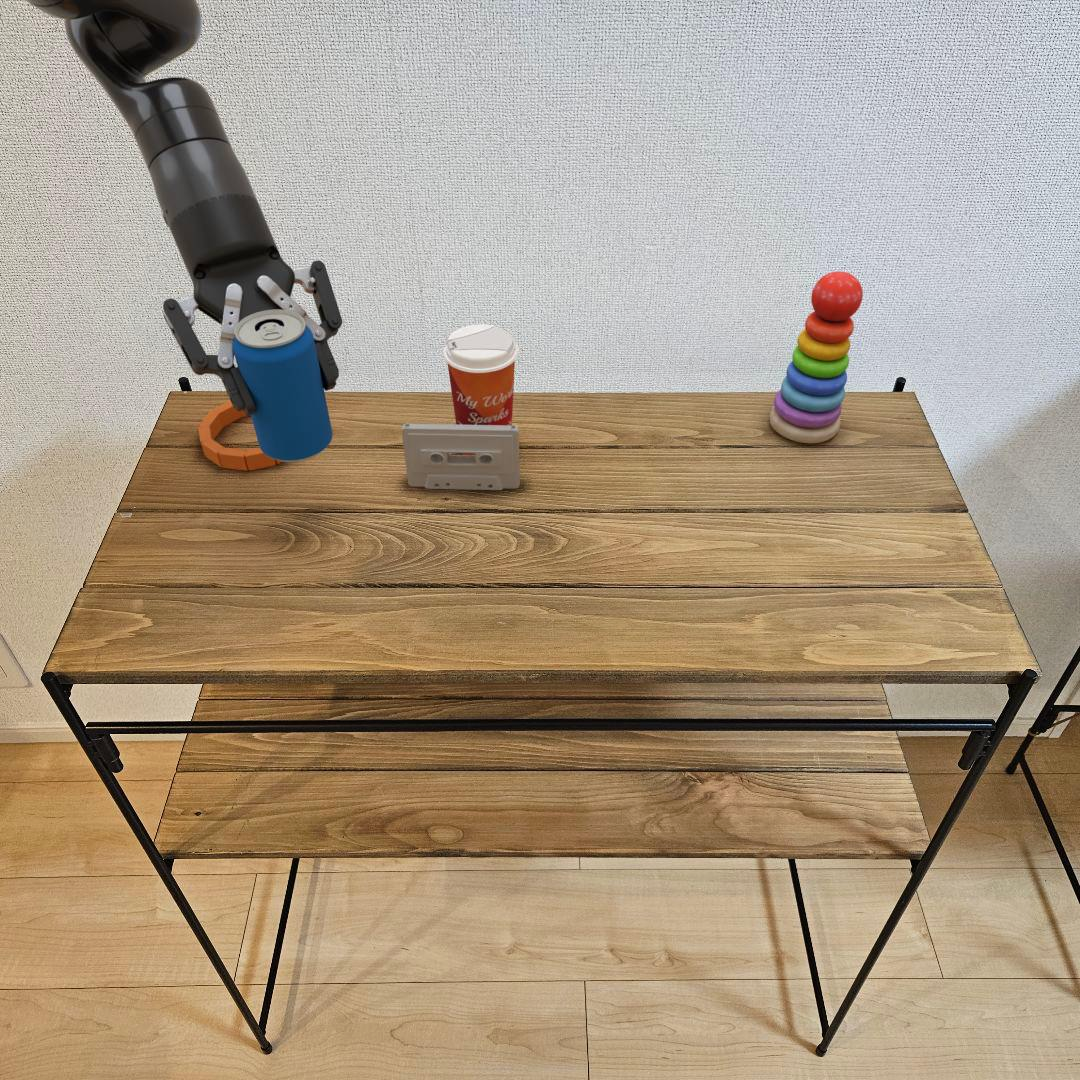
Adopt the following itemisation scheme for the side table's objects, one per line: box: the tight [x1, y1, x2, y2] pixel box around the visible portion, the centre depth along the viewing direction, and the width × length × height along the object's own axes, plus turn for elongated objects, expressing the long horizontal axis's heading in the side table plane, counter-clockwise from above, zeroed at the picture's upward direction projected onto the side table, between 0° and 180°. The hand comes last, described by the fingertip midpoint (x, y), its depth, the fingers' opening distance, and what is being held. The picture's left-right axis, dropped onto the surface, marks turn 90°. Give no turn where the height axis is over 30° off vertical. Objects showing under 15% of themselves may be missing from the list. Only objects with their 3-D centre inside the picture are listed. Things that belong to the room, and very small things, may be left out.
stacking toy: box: [769, 270, 864, 444], centre depth 97 cm, size 8×8×19 cm
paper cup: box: [442, 323, 520, 455], centre depth 95 cm, size 8×8×14 cm
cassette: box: [401, 423, 521, 491], centre depth 93 cm, size 12×2×8 cm, turn 88°
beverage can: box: [233, 310, 333, 463], centre depth 76 cm, size 6×6×12 cm
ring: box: [197, 399, 284, 472], centre depth 100 cm, size 12×12×2 cm
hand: (291, 399), depth 75 cm, fingers closed on beverage can, 6 cm apart
